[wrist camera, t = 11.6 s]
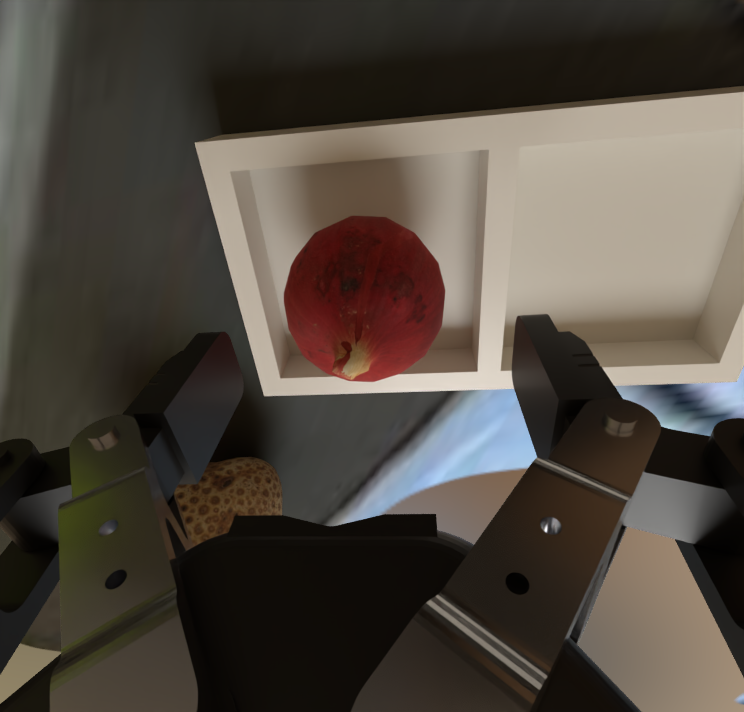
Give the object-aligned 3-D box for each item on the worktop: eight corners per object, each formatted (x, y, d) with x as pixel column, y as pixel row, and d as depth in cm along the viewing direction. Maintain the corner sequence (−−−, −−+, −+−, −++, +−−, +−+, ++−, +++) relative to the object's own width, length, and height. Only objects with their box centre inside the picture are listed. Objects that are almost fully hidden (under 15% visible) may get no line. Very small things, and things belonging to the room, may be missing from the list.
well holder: (221, 134, 17) (194, 142, 15) (802, 80, 15) (870, 80, 13) (277, 366, 23) (264, 396, 21) (701, 350, 21) (736, 381, 19)
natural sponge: (159, 494, 29) (60, 660, 21) (161, 395, 25) (34, 558, 16) (290, 525, 30) (245, 696, 22) (316, 435, 25) (272, 609, 17)
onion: (301, 195, 18) (234, 262, 11) (443, 196, 17) (467, 267, 10) (312, 322, 21) (265, 437, 14) (433, 325, 20) (446, 445, 14)
